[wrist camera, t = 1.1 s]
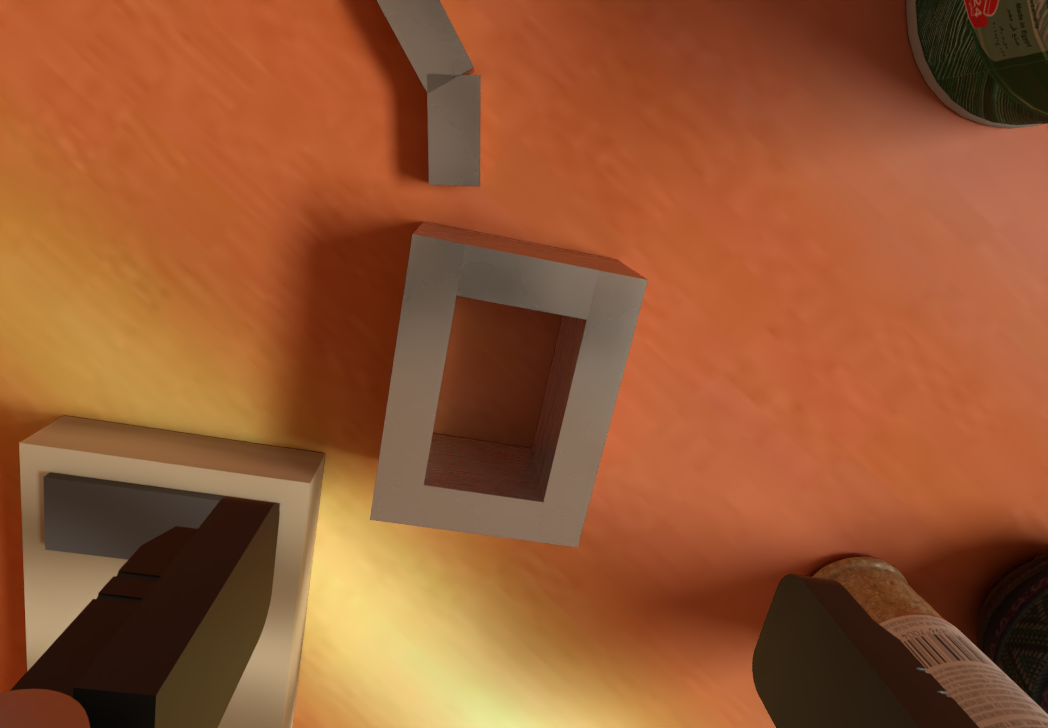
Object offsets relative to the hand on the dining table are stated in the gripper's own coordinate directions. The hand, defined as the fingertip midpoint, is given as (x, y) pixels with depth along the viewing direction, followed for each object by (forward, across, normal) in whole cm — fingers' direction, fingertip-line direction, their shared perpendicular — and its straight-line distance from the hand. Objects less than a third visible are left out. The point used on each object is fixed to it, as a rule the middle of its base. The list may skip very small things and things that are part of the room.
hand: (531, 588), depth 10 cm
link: (+11, 0, 0) cm, 11 cm away
